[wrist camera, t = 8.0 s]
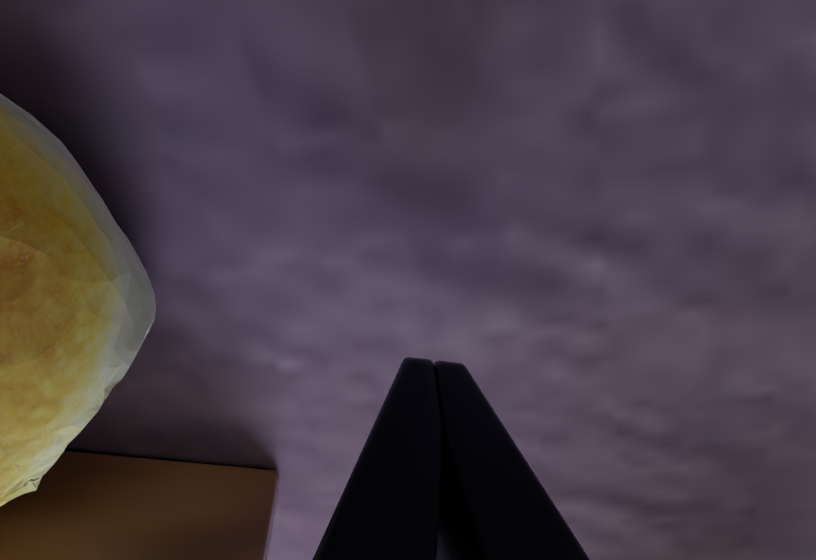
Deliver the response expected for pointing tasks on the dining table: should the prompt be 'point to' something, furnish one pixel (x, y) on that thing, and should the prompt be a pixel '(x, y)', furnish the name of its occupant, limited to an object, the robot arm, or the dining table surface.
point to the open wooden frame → (141, 511)
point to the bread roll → (58, 301)
